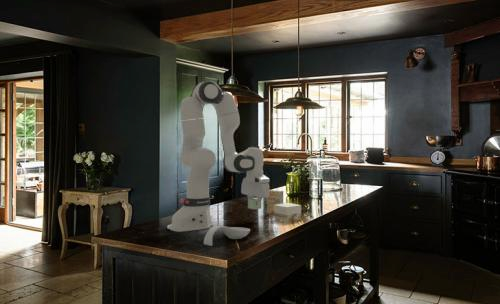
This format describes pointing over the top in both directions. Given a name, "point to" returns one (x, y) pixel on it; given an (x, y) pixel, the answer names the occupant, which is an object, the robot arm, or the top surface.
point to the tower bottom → (287, 217)
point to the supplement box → (274, 200)
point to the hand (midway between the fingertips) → (254, 204)
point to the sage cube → (253, 203)
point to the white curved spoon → (229, 231)
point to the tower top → (287, 208)
